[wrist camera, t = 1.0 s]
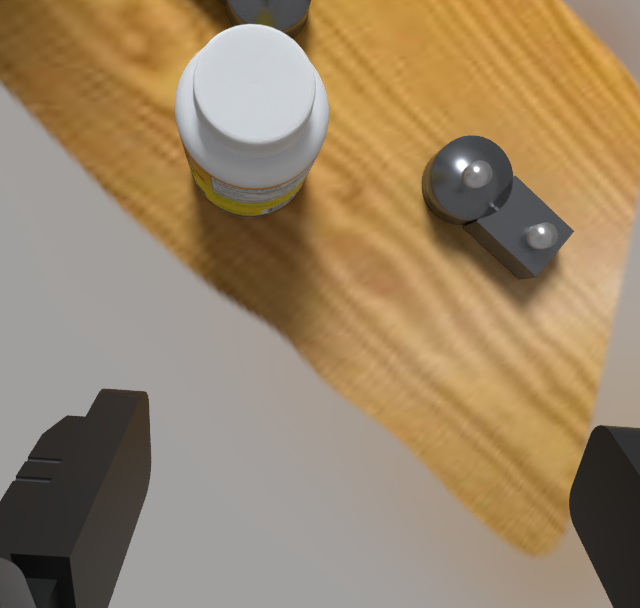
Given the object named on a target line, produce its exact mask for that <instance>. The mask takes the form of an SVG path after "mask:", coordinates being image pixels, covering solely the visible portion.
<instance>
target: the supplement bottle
mask: <svg viewBox="0 0 640 608" xmlns="http://www.w3.org/2000/svg"><path fill="white" fill-rule="evenodd" d="M175 116H176V122H177V127H178V131H179V134H180V137H181V141H182V144H183V147H184V150H185V153H186V157H187V160H188V163H189V166H190V170H191V173H192V176H193V178H194V180H195V183H196V185H197V186H198V188H199V190H200V191H201V193H202V194H203V196H204V197H205V198H206V199H207V200H208V201H209V202H210V203H211V204H213V205H214V206H215V207H217V208H218V209H220V210H222V211H224V212H226V213H228V214H231V215H234V216H238V217H245V218H255V217H262V216H266V215H269V214H272V213H274V212H276V211H278V210H280V209H282V208H283V207H284V206H286V205H287V204H288V203H289V202H290V201H291V200H292V199H293V198H294V197H295V195H296V194H297V193H298V191H299V190H300V188H301V186H302V184H303V183H304V181H305V179H306V177H307V175H308V173H309V171H310V169H311V167H312V165H313V163H314V161H315V159H316V157H317V155H318V153H319V151H320V149H321V147H322V145H323V143H324V140H325V137H326V133H327V128H328V123H329V104H328V98H327V93H326V90H325V87H324V84H323V82H322V80H321V78H320V76H319V74H318V72H317V71H316V69H315V67H314V66H313V65H312V63H311V62H310V61H309V59H308V57H307V55H306V54H305V53H304V51H303V50H302V48H301V47H300V46H299V45H298V44H297V43H296V42H295V41H294V40H293V39H292V38H290V37H289V36H287V35H286V34H284V33H283V32H281V31H279V30H277V29H274V28H272V27H268V26H264V25H257V24H245V25H239V26H235V27H232V28H229V29H227V30H225V31H222V32H221V33H219V34H217V35H216V36H215V37H214V38H212V39H211V40H210V41H209V43H208V44H207V45H206V46H205V47H204V48H203V49H201V50H200V51H199V52H198V53H197V54H196V55H195V56H194V57H193V58H192V59H191V61H190V62H189V64H188V65H187V66H186V68H185V70H184V72H183V74H182V76H181V78H180V81H179V84H178V87H177V92H176V98H175Z"/></svg>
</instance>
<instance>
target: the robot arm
mask: <svg viewBox="0 0 640 608" xmlns="http://www.w3.org/2000/svg"><path fill="white" fill-rule="evenodd" d="M150 472H151V443H150V419H149V399H148V395H147V393H146V392H144V391H130V390H116V389H102V390H101V391H100V392H99V394H98V395H97V397H96V399H95V401H94V403H93V404H92V406H91V408H90V410H89V412H88V413H87V415H86V417H82V416H81V417H80V416H66V417H64V418H63V419H62V420H60V421H59V422H58V423H57V424H55V425H54V426H52V427H51V428H50V429H49V430H47V431H46V432H45V433H43V434H42V436H41V437H40V439H39V440H38V442H37V444H36V445H35V447H34V448H33V450H32V451H31V453H30V455H29V456H28V461H27V462H25V463H24V464H23V466H22V467H21V469H20V471H19V472H18V474H17V475H16V480H15V481H13V482H12V483H11V485H10V486H9V488H8V490H7V491H6V493H5V494H4V496H3V498H2V499H1V501H0V608H108V605H109V602H110V600H111V597H112V594H113V591H114V588H115V585H116V582H117V579H118V576H119V573H120V570H121V567H122V565H123V561H124V559H125V556H126V553H127V550H128V547H129V544H130V541H131V538H132V535H133V532H134V530H135V527H136V524H137V521H138V518H139V515H140V512H141V509H142V506H143V503H144V500H145V497H146V494H147V490H148V485H149V480H150ZM569 507H570V515H571V519H572V522H573V525H574V527H575V529H576V531H577V533H578V536H579V537H580V540H581V542H582V544H583V546H584V548H585V550H586V552H587V554H588V556H589V558H590V560H591V562H592V564H593V566H594V569H595V570H596V573H597V575H598V577H599V579H600V581H601V583H602V585H603V587H604V589H605V591H606V593H607V595H608V597H609V599H610V601H611V603H612V605H613V608H640V428H630V427H616V426H602V425H600V426H597V427H595V428H594V430H593V431H592V433H591V435H590V437H589V440H588V443H587V446H586V449H585V451H584V454H583V457H582V460H581V462H580V465H579V468H578V471H577V474H576V476H575V479H574V482H573V485H572V488H571V491H570V498H569Z"/></svg>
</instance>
